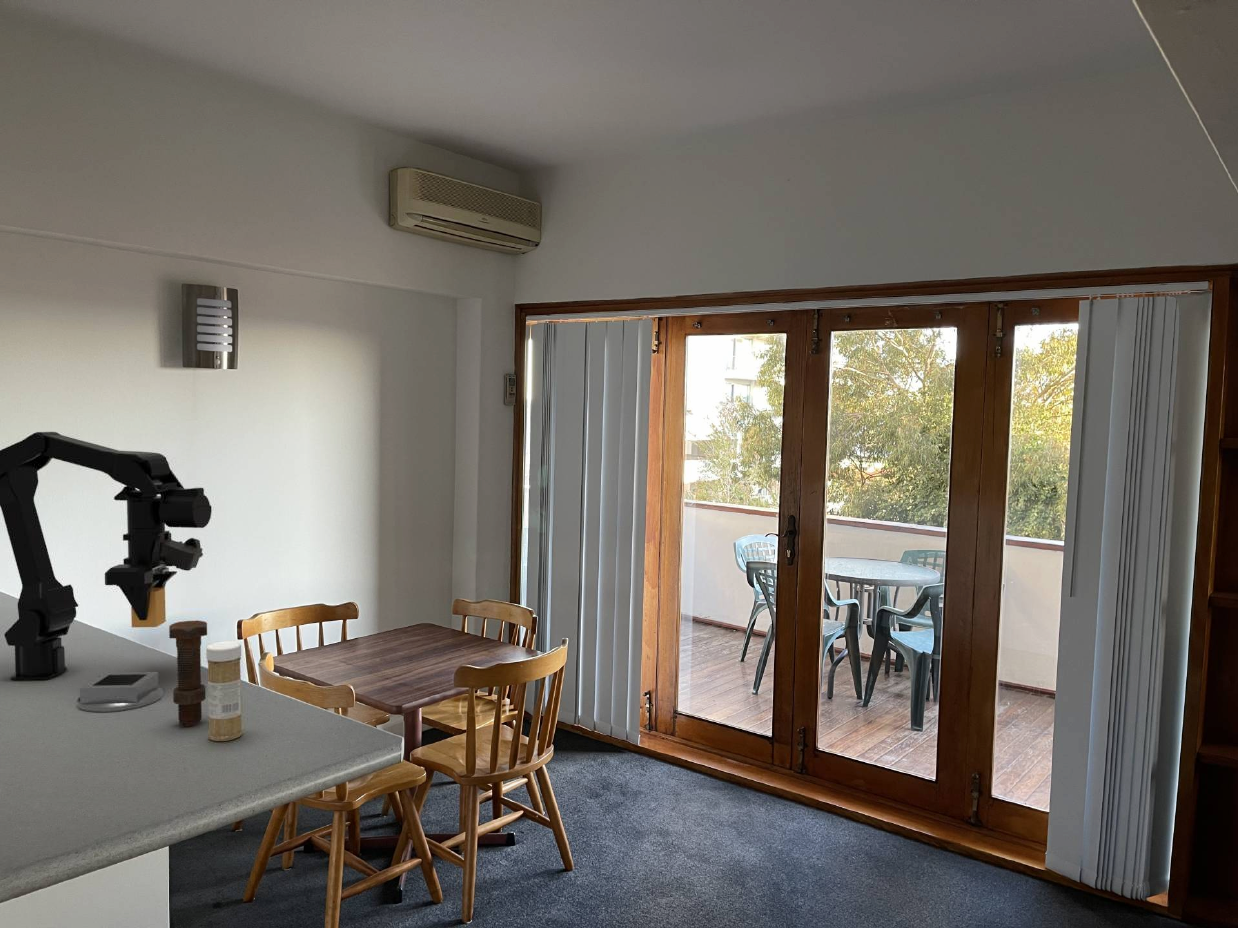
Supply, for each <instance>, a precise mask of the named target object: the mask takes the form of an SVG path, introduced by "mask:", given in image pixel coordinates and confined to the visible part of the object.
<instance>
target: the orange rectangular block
mask: <svg viewBox="0 0 1238 928" xmlns="http://www.w3.org/2000/svg"><path fill="white" fill-rule="evenodd" d="M130 606H131V605H130ZM130 609H131V613H130V614H131V619H130V620H131V628H157V627H159V626H161V625H162V624H164V623H166V622H167V621H166V620H167V619H166V618H167V617H166V616H167V615H166V587H165V588H152V589H151V592H150V601H149V609H148V616H147V619H146V620H139V618H138V617H137V615H136V613H135V611H134V610H133V608H132V606H131V607H130Z"/></svg>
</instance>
